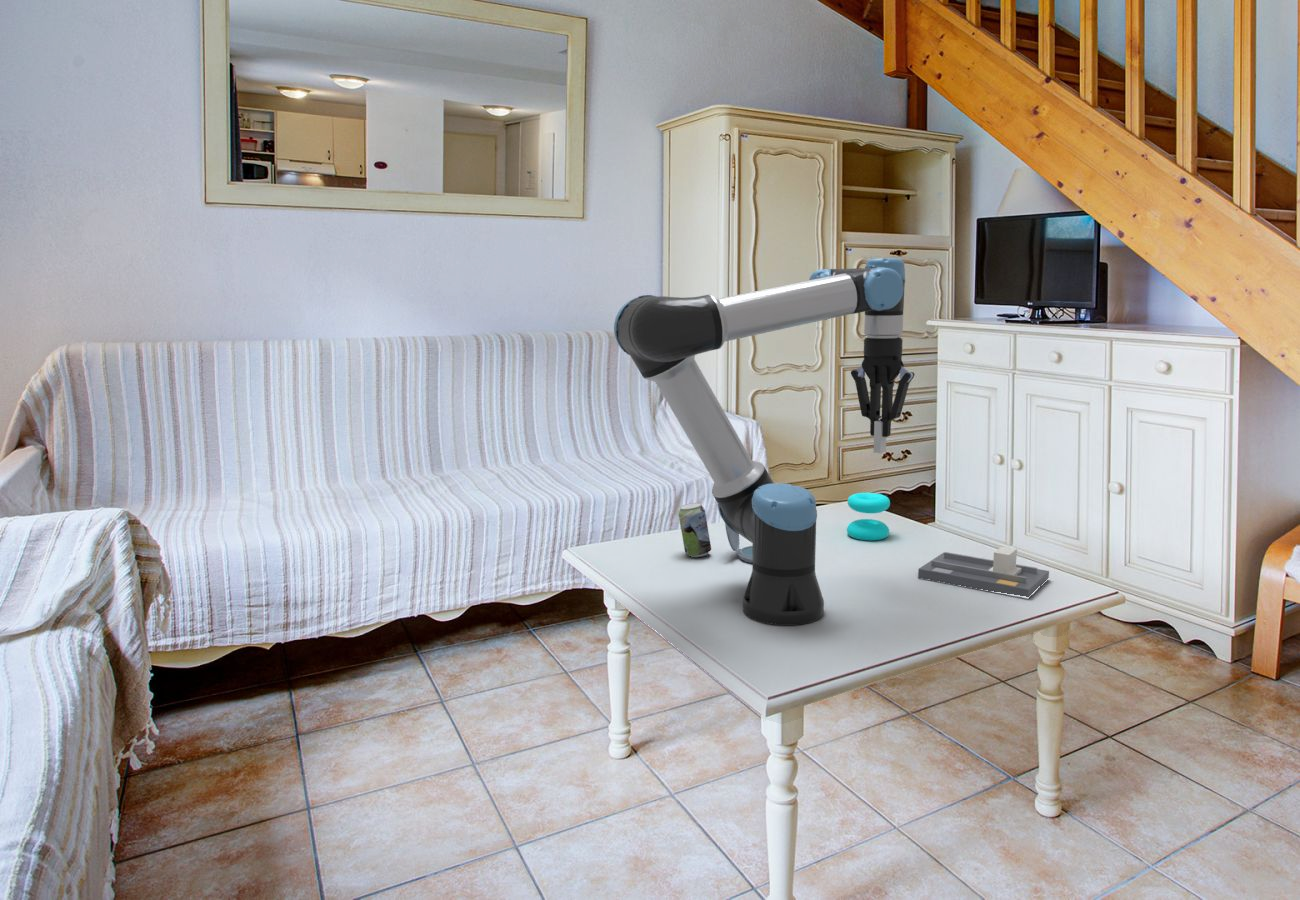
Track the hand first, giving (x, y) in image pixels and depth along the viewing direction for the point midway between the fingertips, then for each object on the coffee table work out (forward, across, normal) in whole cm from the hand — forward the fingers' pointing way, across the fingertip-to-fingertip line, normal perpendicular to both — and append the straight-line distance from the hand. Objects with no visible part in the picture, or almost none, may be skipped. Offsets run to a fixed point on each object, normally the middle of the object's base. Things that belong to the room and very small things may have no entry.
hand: (879, 451), depth 185 cm
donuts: (+27, +14, -26) cm, 40 cm away
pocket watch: (+27, +26, +4) cm, 38 cm away
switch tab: (+24, -23, -10) cm, 35 cm away
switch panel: (+26, -19, -10) cm, 34 cm away
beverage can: (+27, +39, +11) cm, 48 cm away
